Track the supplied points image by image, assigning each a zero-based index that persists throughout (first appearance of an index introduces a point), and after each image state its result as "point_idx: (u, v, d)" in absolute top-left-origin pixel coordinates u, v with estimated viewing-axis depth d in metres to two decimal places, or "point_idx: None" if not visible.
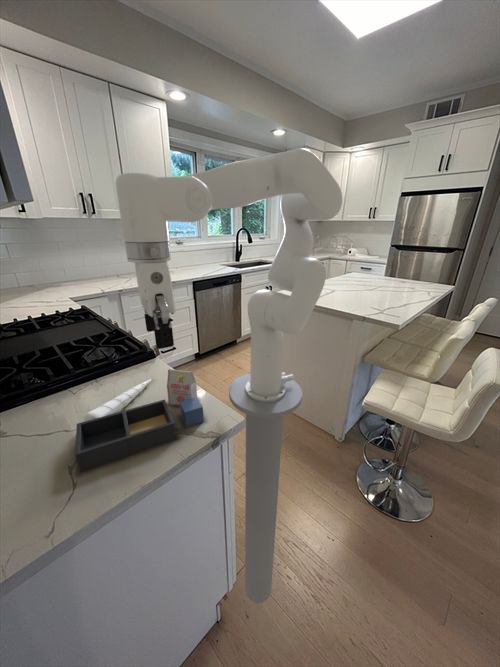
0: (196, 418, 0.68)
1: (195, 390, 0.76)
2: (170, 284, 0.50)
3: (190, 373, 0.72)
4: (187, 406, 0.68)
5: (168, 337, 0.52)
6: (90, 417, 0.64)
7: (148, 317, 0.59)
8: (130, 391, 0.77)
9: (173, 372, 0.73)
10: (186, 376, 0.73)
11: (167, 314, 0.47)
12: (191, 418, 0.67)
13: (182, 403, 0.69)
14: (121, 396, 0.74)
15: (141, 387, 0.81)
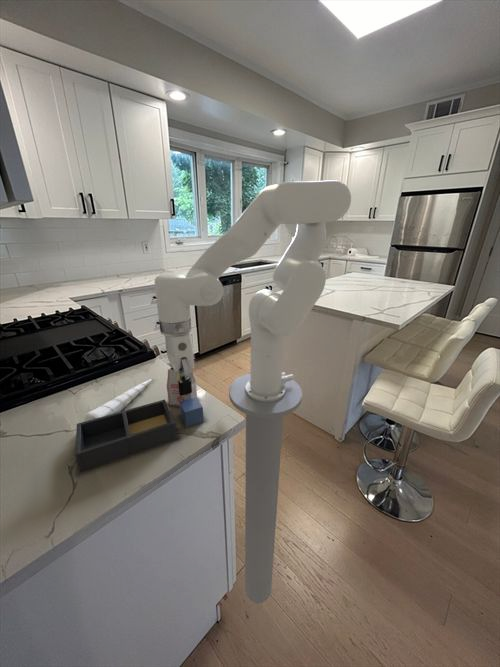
0: (196, 418, 0.68)
1: (195, 390, 0.76)
2: (191, 349, 0.67)
3: None
4: (187, 406, 0.68)
5: (188, 387, 0.70)
6: (90, 417, 0.64)
7: None
8: (130, 391, 0.77)
9: (172, 372, 0.73)
10: None
11: (189, 376, 0.66)
12: (191, 418, 0.67)
13: (182, 403, 0.69)
14: (121, 396, 0.74)
15: (141, 387, 0.81)
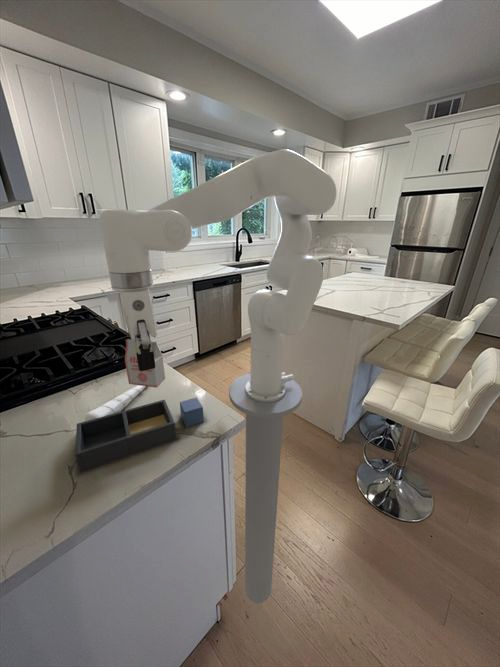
0: (196, 418, 0.68)
1: (161, 366, 0.61)
2: (151, 310, 0.53)
3: (153, 343, 0.58)
4: (187, 406, 0.68)
5: (149, 360, 0.55)
6: (90, 417, 0.64)
7: None
8: (130, 391, 0.77)
9: (132, 343, 0.59)
10: None
11: (147, 343, 0.51)
12: (191, 418, 0.67)
13: (182, 403, 0.69)
14: (121, 396, 0.74)
15: (141, 387, 0.81)
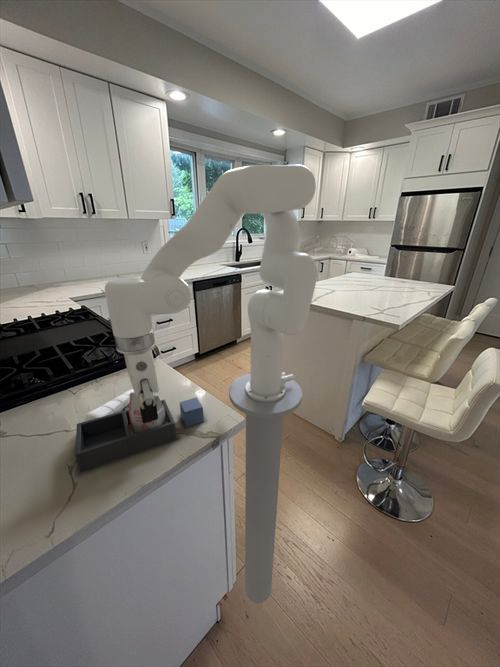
0: (196, 418, 0.68)
1: (163, 416, 0.64)
2: (154, 369, 0.56)
3: (155, 398, 0.61)
4: (187, 406, 0.68)
5: (152, 413, 0.58)
6: (90, 417, 0.64)
7: None
8: (130, 391, 0.77)
9: (135, 396, 0.62)
10: None
11: (150, 399, 0.53)
12: (191, 418, 0.67)
13: (182, 403, 0.69)
14: (121, 396, 0.74)
15: None
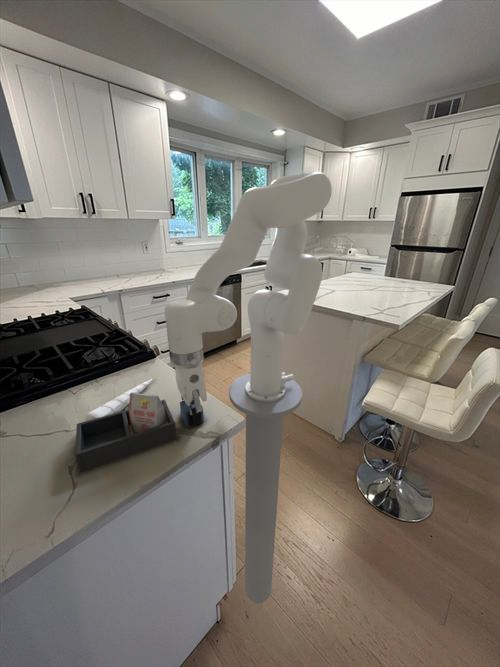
0: None
1: (163, 416, 0.64)
2: (204, 381, 0.63)
3: (155, 398, 0.61)
4: (187, 406, 0.68)
5: (198, 418, 0.67)
6: (91, 417, 0.64)
7: None
8: (131, 391, 0.77)
9: (135, 396, 0.62)
10: (150, 401, 0.61)
11: (200, 411, 0.62)
12: None
13: (182, 403, 0.69)
14: (122, 396, 0.73)
15: (142, 387, 0.81)
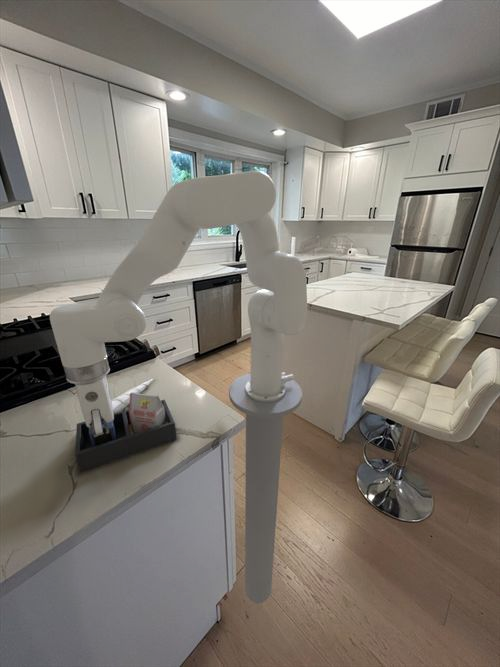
0: None
1: (163, 416, 0.64)
2: (106, 399, 0.53)
3: (155, 398, 0.61)
4: None
5: (106, 441, 0.57)
6: None
7: None
8: (131, 391, 0.77)
9: (135, 396, 0.62)
10: (150, 401, 0.61)
11: (101, 434, 0.53)
12: None
13: None
14: (122, 396, 0.74)
15: (142, 387, 0.81)
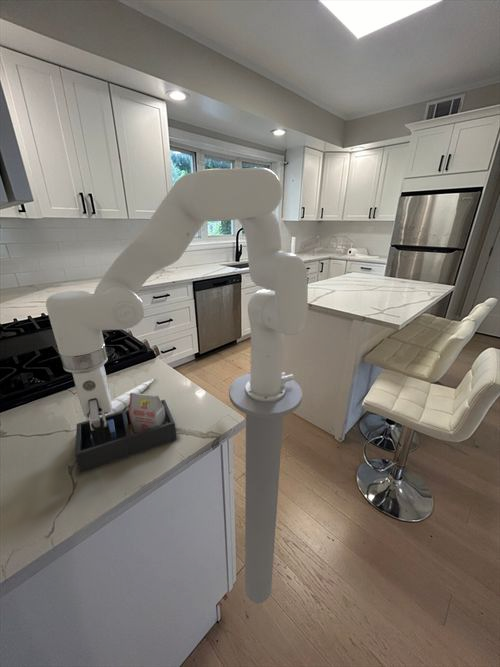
0: None
1: (163, 416, 0.64)
2: (104, 388, 0.52)
3: (155, 398, 0.61)
4: None
5: (104, 435, 0.54)
6: None
7: None
8: (132, 391, 0.77)
9: (135, 396, 0.62)
10: (150, 401, 0.61)
11: (98, 422, 0.50)
12: None
13: None
14: (123, 396, 0.74)
15: (143, 387, 0.81)
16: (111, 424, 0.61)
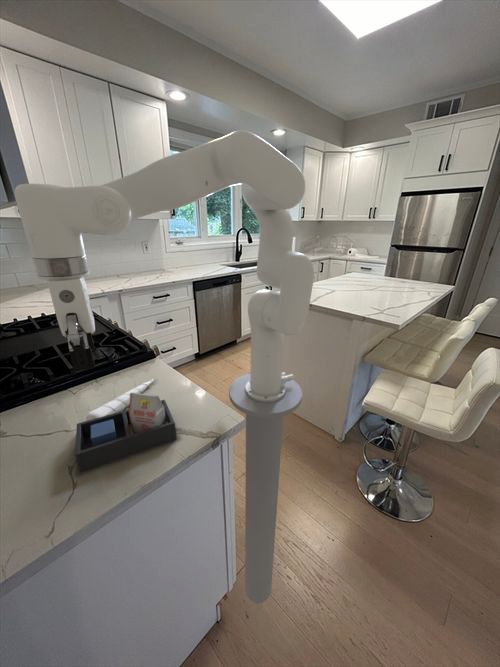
0: None
1: (163, 416, 0.64)
2: (84, 302, 0.46)
3: (155, 398, 0.61)
4: (96, 431, 0.59)
5: (85, 359, 0.48)
6: (91, 417, 0.64)
7: None
8: (132, 391, 0.77)
9: (135, 396, 0.62)
10: (150, 401, 0.61)
11: (76, 336, 0.43)
12: None
13: (93, 427, 0.60)
14: (123, 396, 0.74)
15: (143, 387, 0.81)
16: (111, 424, 0.61)
